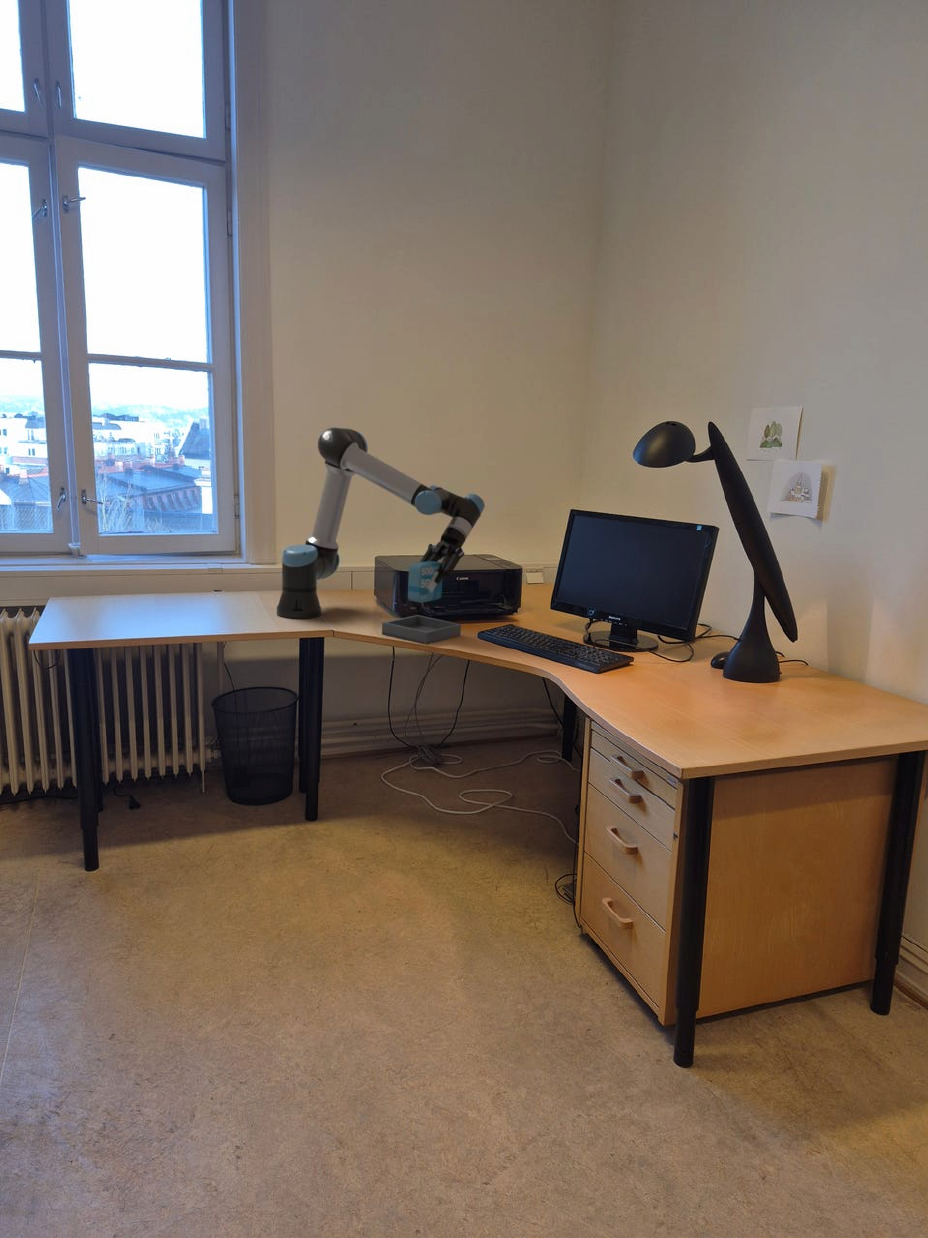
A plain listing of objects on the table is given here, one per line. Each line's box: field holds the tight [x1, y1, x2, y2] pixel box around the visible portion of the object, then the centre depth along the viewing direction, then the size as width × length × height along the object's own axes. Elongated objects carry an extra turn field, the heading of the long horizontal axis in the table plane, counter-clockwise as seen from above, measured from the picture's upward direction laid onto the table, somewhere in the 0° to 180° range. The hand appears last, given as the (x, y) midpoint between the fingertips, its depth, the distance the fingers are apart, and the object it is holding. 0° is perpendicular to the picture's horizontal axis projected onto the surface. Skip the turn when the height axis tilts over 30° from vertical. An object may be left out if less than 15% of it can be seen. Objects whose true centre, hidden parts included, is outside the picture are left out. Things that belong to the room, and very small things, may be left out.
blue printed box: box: [407, 561, 443, 603], centre depth 240 cm, size 12×4×12 cm, turn 145°
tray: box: [381, 614, 462, 646], centre depth 244 cm, size 18×18×4 cm
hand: (422, 588), depth 240 cm, fingers closed on blue printed box, 4 cm apart
